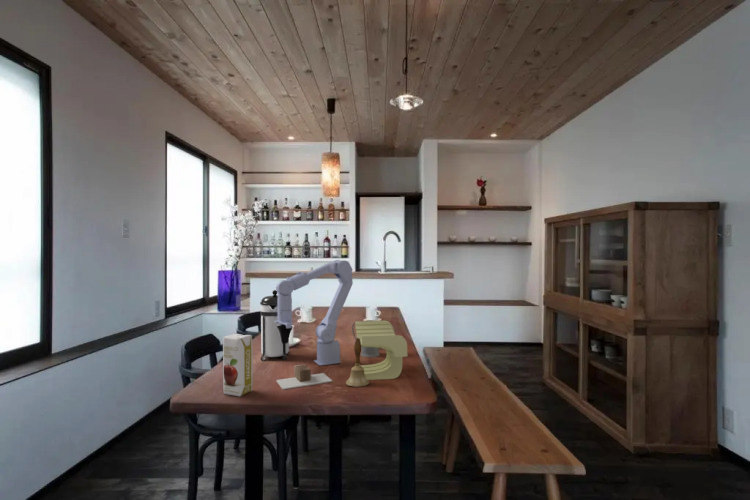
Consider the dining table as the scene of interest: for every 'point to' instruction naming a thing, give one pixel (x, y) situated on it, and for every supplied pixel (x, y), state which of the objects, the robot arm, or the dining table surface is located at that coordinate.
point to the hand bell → (357, 369)
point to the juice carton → (237, 364)
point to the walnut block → (302, 373)
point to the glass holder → (368, 348)
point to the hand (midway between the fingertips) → (284, 343)
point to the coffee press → (271, 329)
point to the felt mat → (295, 383)
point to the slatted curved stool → (384, 338)
